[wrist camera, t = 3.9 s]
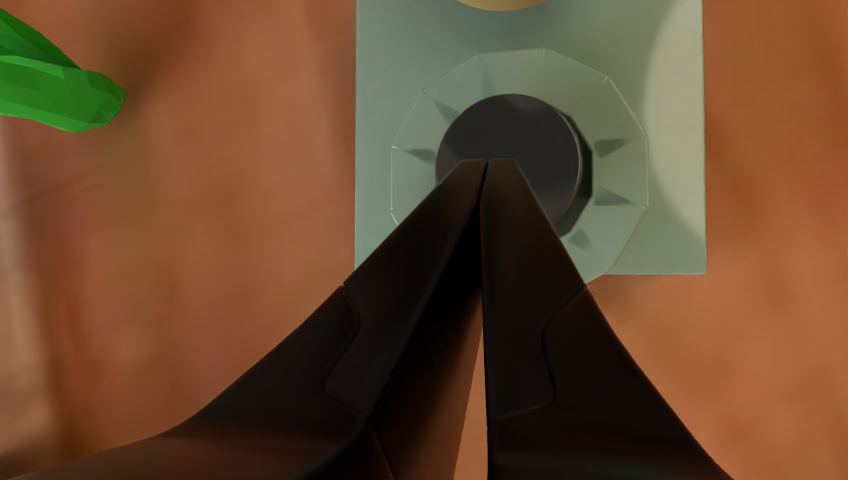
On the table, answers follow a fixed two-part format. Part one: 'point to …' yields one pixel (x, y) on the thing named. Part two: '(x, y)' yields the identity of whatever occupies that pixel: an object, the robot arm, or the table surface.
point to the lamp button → (519, 146)
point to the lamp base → (567, 92)
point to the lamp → (502, 4)
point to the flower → (51, 82)
